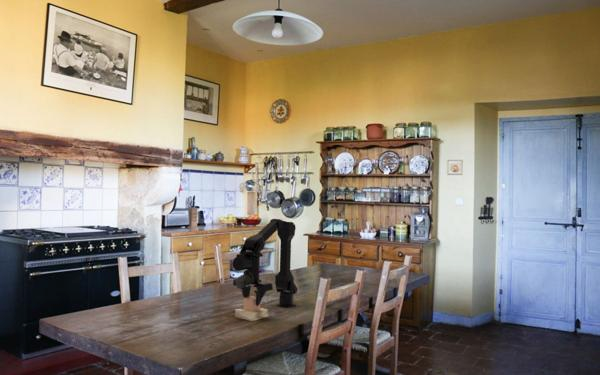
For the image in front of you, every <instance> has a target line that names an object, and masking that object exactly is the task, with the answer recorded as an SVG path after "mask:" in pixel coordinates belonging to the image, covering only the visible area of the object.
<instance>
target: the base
mask: <svg viewBox="0 0 600 375" xmlns="http://www.w3.org/2000/svg"><path fill="white" fill-rule="evenodd" d="M243 309H244V307H240V308H236V309H234V317H235V318H238V319H243V320H247V321H250V322H253V321H257V320H261V319H265V318H268V317H269V309H267V308H263V307H260V310H257V311H253V312H251V311H247V310H243Z"/></svg>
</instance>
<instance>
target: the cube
mask: <svg viewBox="0 0 600 375" xmlns="http://www.w3.org/2000/svg"><path fill="white" fill-rule="evenodd" d="M243 308H244V309H243V310H247V311H251V312H253V311H257V310H260V308H261V303H260V304H259V306H256V296H253V295H249V297H246V298H244V297H243Z"/></svg>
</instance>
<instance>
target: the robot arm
mask: <svg viewBox="0 0 600 375" xmlns="http://www.w3.org/2000/svg"><path fill="white" fill-rule="evenodd" d="M276 232H277V236H278V238H279V240H280V246H279V247H280V248H279V251H280V252H279V253H280V255H279V271H278V273H277V274H275V276H274V280H275V281H274V284H275V289H276V293H279V300H278V301H279V303H277V304H276V306H278V307H284V308H290V307H294V306H297V304H296V303H294V295H296V294H297V292H298V287H297V285H296V284H295V282H294V280H295V279H294V276H293V274H292V272H291V260H292V259H291V257H292V255H291V254H292V240H293V238H294V237H295V234H296V224H295V223H294V222H293V221H286V220H283V219H280V218H272V219H270V220H269V222H267V224H266V225H265V226H264V227H263V228H262V229H260V231H259V232H258V233H256V234H253V235H251V236H249V237H247V238H246V239H245V240H244V243H243V245H242V247H241V249H240V251H239V253H237V254H236V255H235V257H234V258H233V260H232V262H231V264H232V265H231V266H232V268H233V269H234V271H236V272H240V271H243V274H241V275H240V276H238V277H237V278H234V279H233V281H232V286H236V289H238V290H239V291H240V292H241V294H242V296H243V299H244V298H246V297H250V296H251V295H250V292H251V289H252V287H254V288H256V289H255V290H253V292H254V293H255V297H256V306H259V304H260V305H261V302H262V300H263V298H264V296H265V294H266V292H268V291H272V290H273V287H274V286H273V283H272V282H267V281H265V282H264V281H263V282H262V279H260V274H261V273H262V271H263V270H262V269H261V268H260V267H261V265H260V264H261V258H262V257H264V254H262V253H261V251H262V250H263V249H264V248H265V246H266V242H267V240H268V239H270V238H271V237H272V236H273V234H275V233H276Z"/></svg>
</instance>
